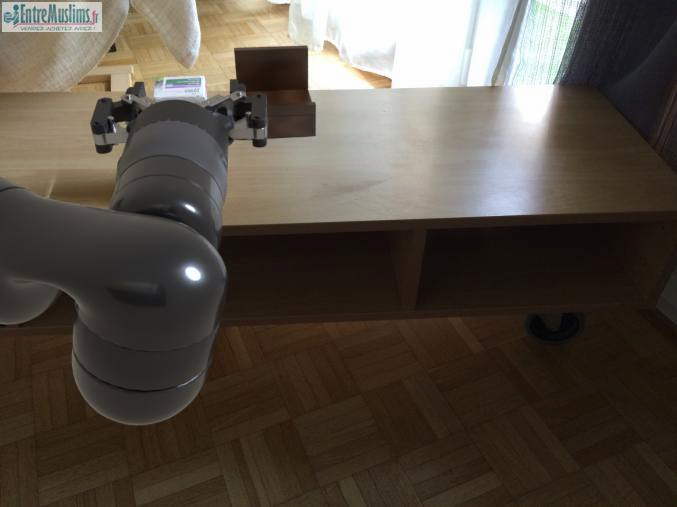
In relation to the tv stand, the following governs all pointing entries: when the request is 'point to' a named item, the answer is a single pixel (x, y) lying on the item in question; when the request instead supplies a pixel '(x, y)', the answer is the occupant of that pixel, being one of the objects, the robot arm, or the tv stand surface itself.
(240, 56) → the spice rack
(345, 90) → the tv stand surface
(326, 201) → the tv stand surface
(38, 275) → the robot arm
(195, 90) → the syrup box
